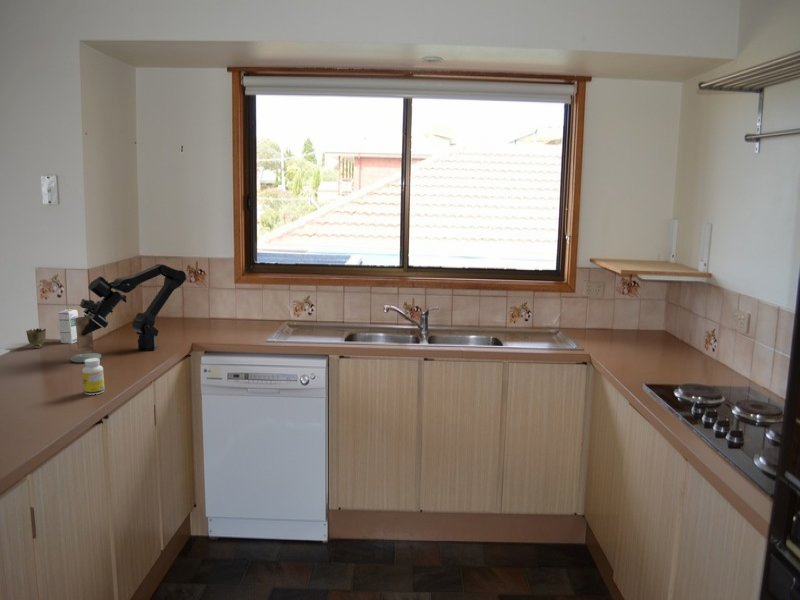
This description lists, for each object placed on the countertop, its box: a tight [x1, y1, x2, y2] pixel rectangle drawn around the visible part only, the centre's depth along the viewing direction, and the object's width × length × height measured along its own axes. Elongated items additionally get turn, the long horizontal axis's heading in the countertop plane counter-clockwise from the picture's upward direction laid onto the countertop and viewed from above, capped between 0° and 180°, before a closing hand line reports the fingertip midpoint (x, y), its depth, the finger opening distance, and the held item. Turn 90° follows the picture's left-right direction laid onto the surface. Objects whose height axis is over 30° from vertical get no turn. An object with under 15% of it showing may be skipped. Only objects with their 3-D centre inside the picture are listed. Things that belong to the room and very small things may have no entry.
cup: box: [25, 327, 47, 349], centre depth 288 cm, size 8×7×8 cm
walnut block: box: [75, 316, 95, 352], centre depth 268 cm, size 5×5×13 cm
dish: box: [70, 352, 102, 364], centre depth 269 cm, size 11×11×1 cm
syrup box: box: [57, 308, 79, 345], centre depth 298 cm, size 6×6×14 cm
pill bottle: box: [82, 358, 106, 396], centre depth 227 cm, size 6×6×12 cm
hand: (80, 333), depth 267 cm, fingers closed on walnut block, 5 cm apart
